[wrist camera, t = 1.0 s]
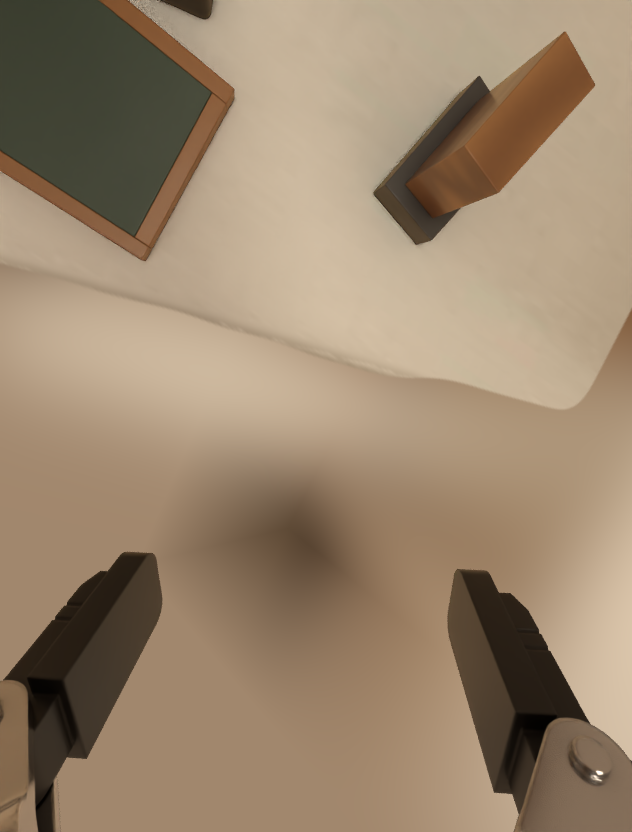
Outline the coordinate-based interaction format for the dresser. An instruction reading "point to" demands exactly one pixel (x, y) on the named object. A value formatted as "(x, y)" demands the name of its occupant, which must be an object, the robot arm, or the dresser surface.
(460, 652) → the robot arm
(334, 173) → the dresser surface
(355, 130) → the dresser surface
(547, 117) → the duster
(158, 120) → the chalkboard
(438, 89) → the dresser surface
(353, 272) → the dresser surface
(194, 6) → the multiport hub
